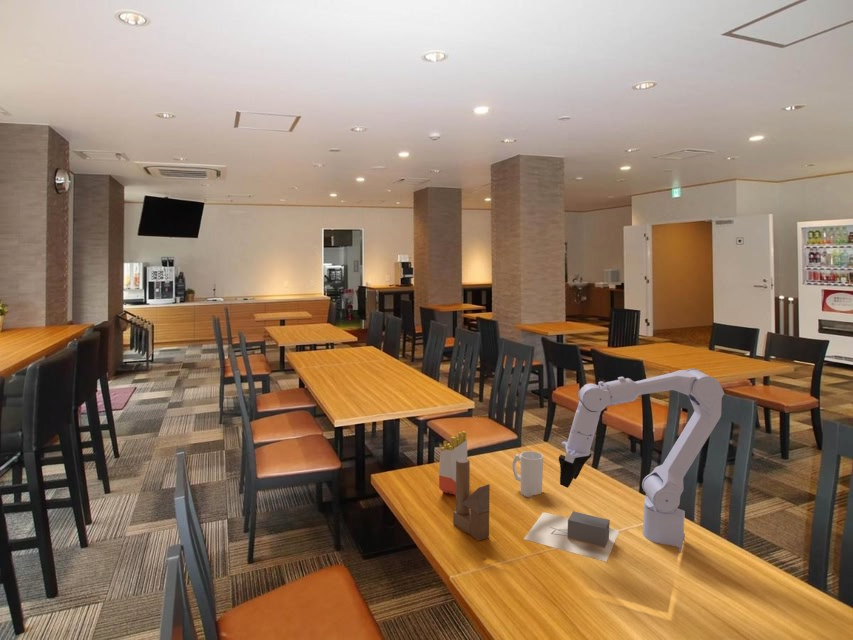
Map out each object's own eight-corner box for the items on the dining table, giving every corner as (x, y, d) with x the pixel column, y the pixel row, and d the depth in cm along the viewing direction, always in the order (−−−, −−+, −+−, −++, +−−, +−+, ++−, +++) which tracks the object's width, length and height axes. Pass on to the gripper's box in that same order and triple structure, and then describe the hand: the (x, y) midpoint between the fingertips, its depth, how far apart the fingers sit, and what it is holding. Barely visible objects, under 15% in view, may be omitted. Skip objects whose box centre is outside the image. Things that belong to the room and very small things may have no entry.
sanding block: (608, 538, 130) (609, 519, 129) (604, 548, 125) (605, 528, 125) (572, 529, 134) (573, 511, 134) (567, 538, 130) (567, 519, 129)
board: (619, 534, 134) (619, 530, 134) (606, 565, 120) (606, 561, 120) (543, 515, 144) (543, 512, 144) (523, 542, 130) (523, 539, 130)
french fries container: (438, 495, 156) (437, 437, 154) (454, 482, 166) (454, 427, 164) (451, 498, 154) (451, 440, 152) (467, 485, 163) (467, 429, 161)
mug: (546, 493, 158) (547, 454, 156) (535, 500, 153) (535, 461, 151) (518, 483, 164) (519, 446, 163) (506, 490, 159) (506, 452, 158)
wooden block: (478, 541, 131) (479, 473, 129) (452, 524, 139) (452, 459, 137) (489, 537, 133) (490, 469, 131) (463, 520, 142) (463, 456, 139)
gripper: (574, 420, 138) (560, 467, 140) (559, 430, 125) (544, 482, 127) (600, 430, 135) (586, 478, 137) (588, 442, 122) (572, 495, 124)
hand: (568, 481), depth 132 cm, fingers open, 7 cm apart
